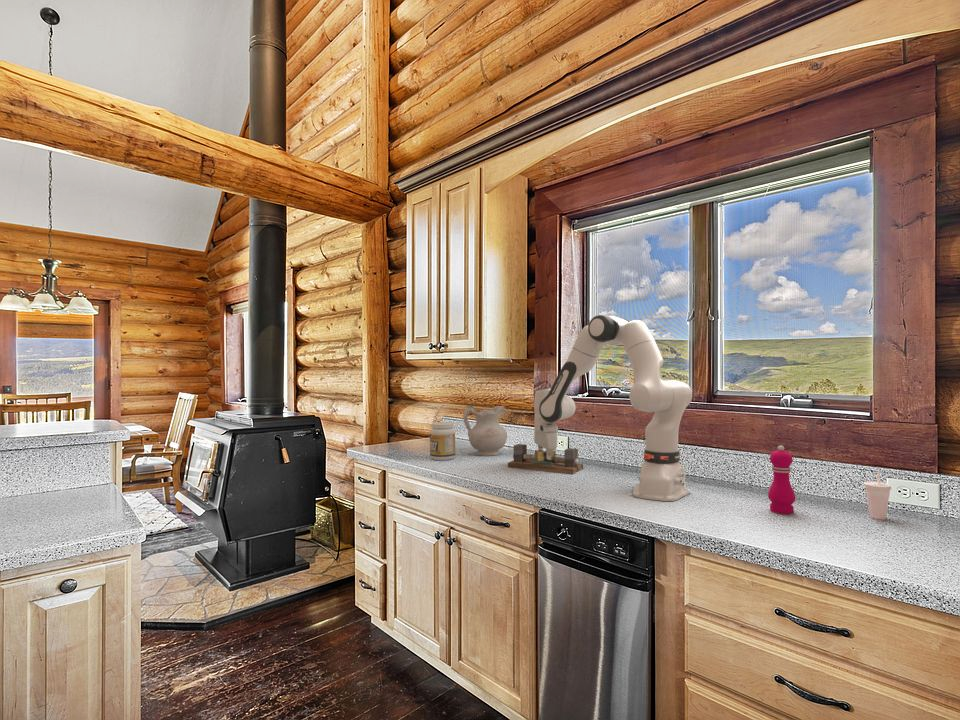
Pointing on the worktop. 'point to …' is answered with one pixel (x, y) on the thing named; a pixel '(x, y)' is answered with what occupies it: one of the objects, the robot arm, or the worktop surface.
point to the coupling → (544, 455)
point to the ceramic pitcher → (486, 430)
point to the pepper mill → (781, 483)
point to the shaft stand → (546, 461)
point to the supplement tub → (442, 441)
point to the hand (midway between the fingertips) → (545, 457)
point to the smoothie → (877, 498)
